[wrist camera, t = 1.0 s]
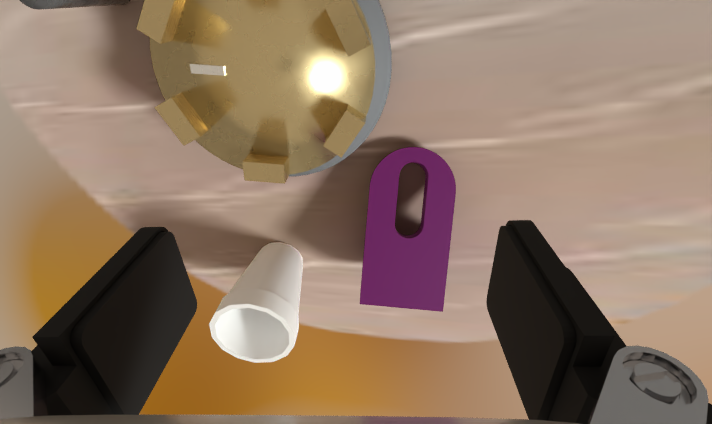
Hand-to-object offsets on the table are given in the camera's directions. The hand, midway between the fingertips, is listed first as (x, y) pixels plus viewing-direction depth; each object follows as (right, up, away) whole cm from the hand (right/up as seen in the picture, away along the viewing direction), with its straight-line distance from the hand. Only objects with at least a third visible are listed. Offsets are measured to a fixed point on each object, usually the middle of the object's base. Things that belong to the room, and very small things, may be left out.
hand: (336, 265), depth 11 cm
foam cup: (-10, -5, +41) cm, 42 cm away
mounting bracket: (+7, +2, +36) cm, 36 cm away
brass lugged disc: (-8, +15, +24) cm, 30 cm away
